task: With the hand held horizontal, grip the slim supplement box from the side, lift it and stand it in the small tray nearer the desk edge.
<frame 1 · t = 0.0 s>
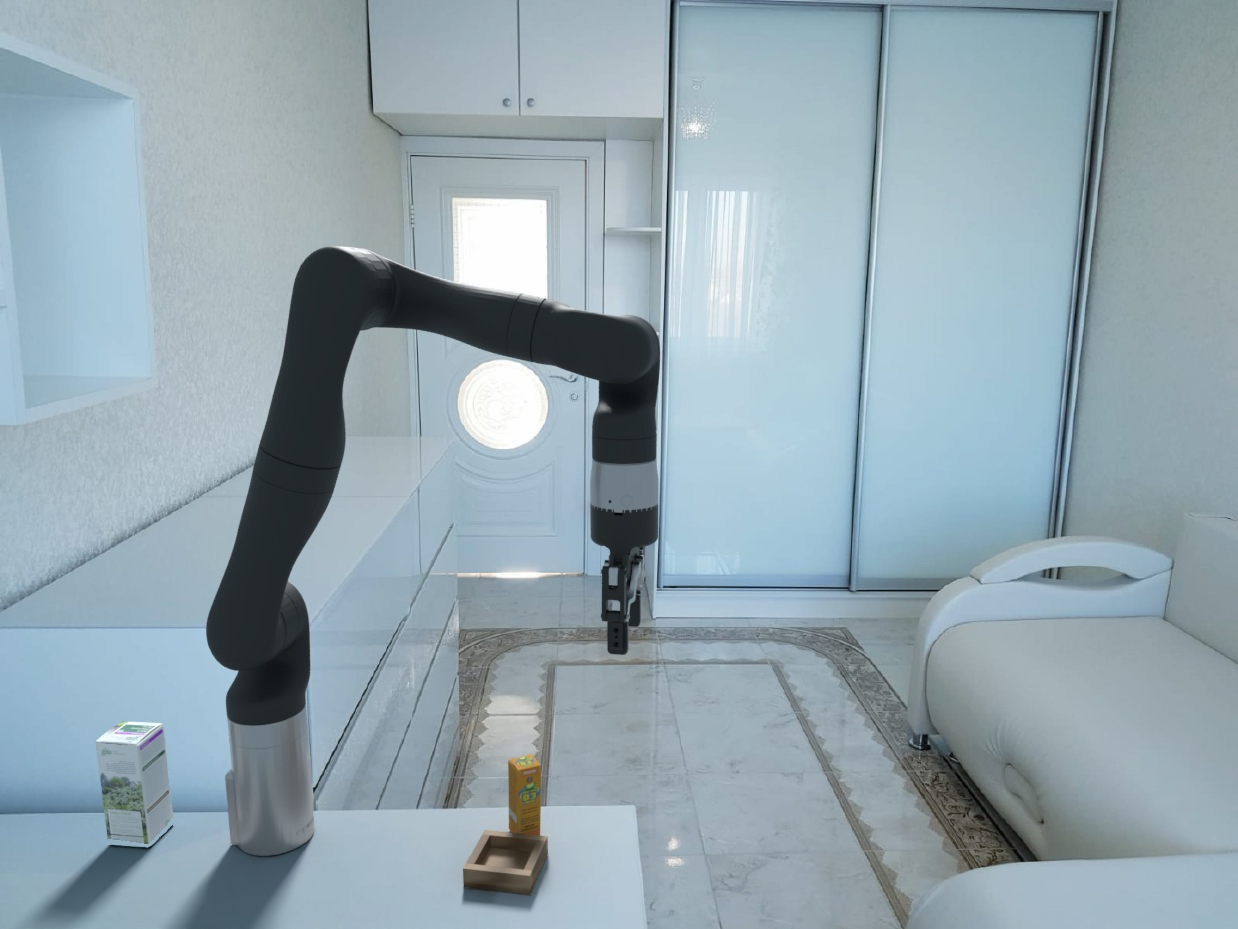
hand: (624, 639, 107), 29 cm above the table, tool pointing down, fingers open, 8 cm apart
syrup box: (141, 837, 120), on the table
supplement box: (525, 834, 120), on the table
tray: (506, 871, 113), on the table
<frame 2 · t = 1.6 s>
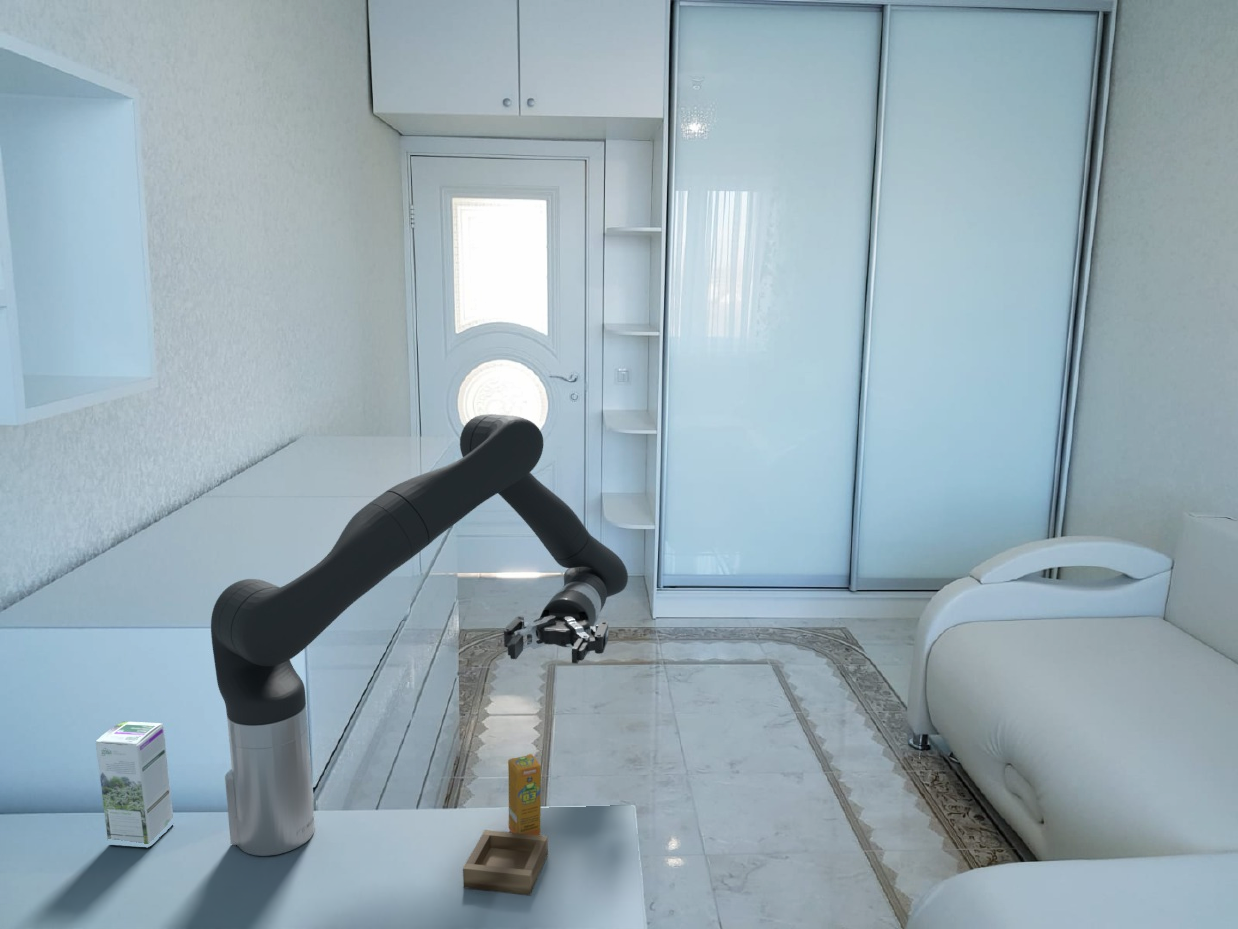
hand: (543, 654, 126), 20 cm above the table, tool horizontal, fingers open, 8 cm apart
nothing on the table moved.
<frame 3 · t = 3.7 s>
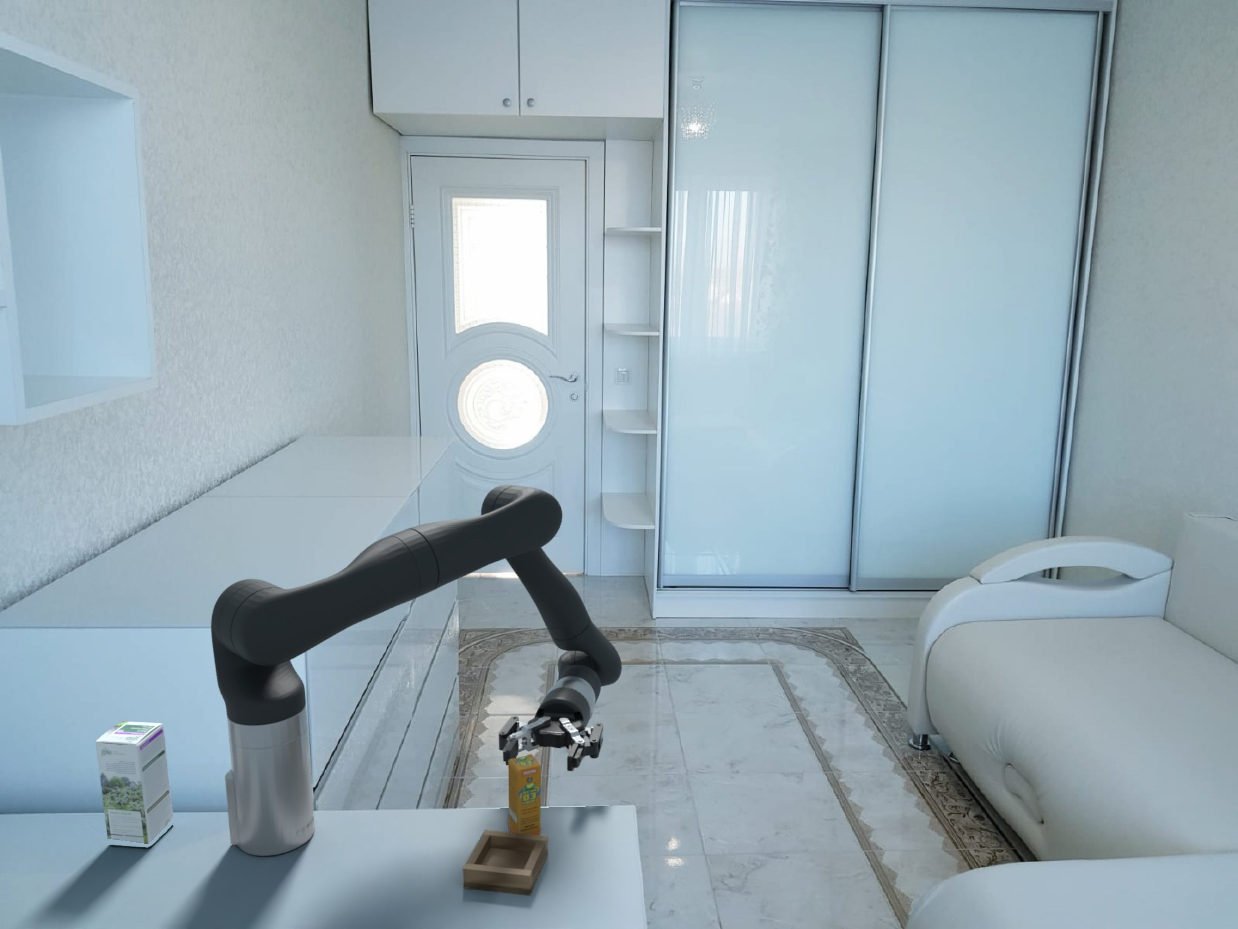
hand: (538, 762, 126), 6 cm above the table, tool horizontal, fingers open, 8 cm apart
nothing on the table moved.
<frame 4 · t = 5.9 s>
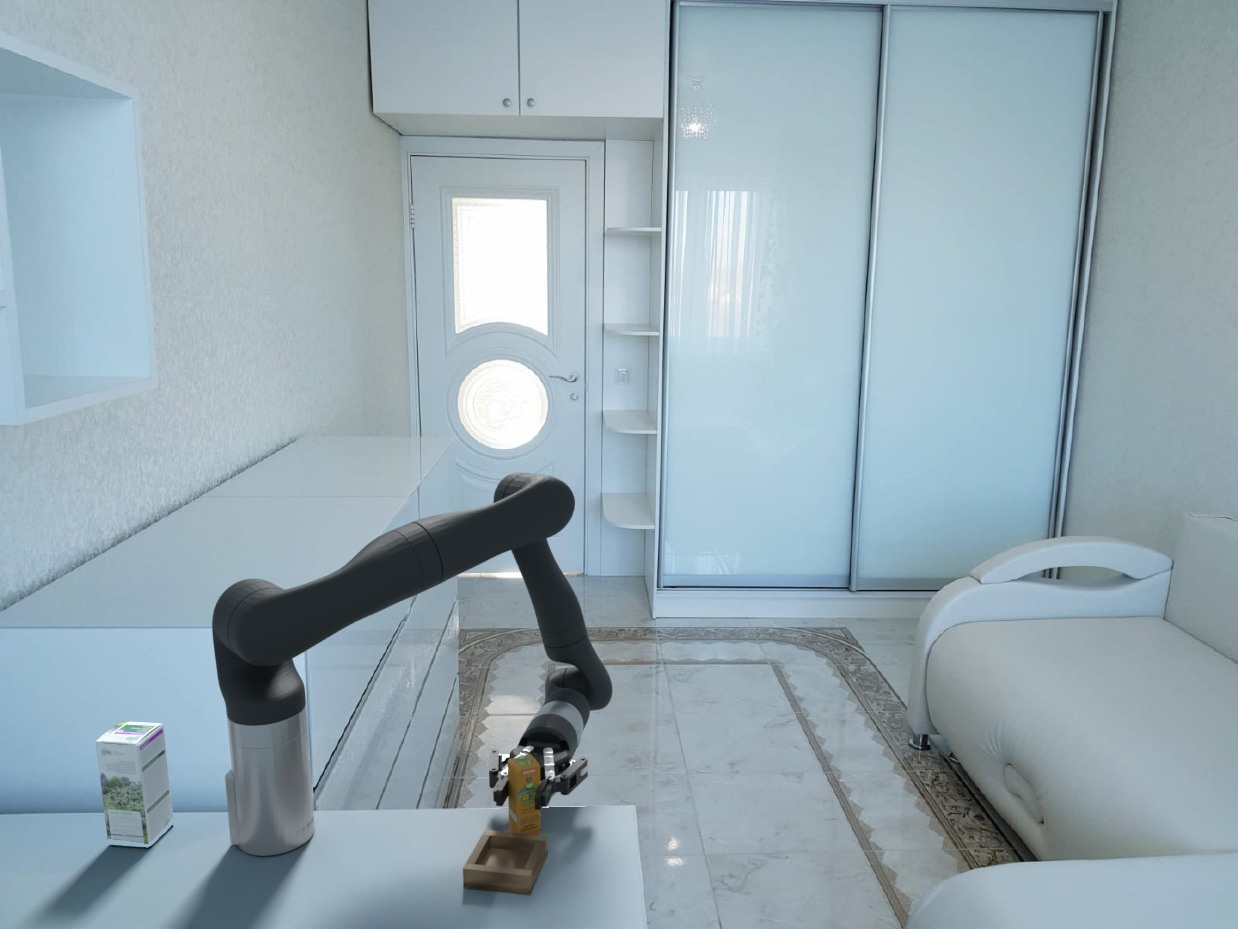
hand: (518, 801, 117), 6 cm above the table, tool horizontal, fingers closed on supplement box, 4 cm apart
supplement box: (525, 834, 120), on the table, touching gripper
everything else where it was.
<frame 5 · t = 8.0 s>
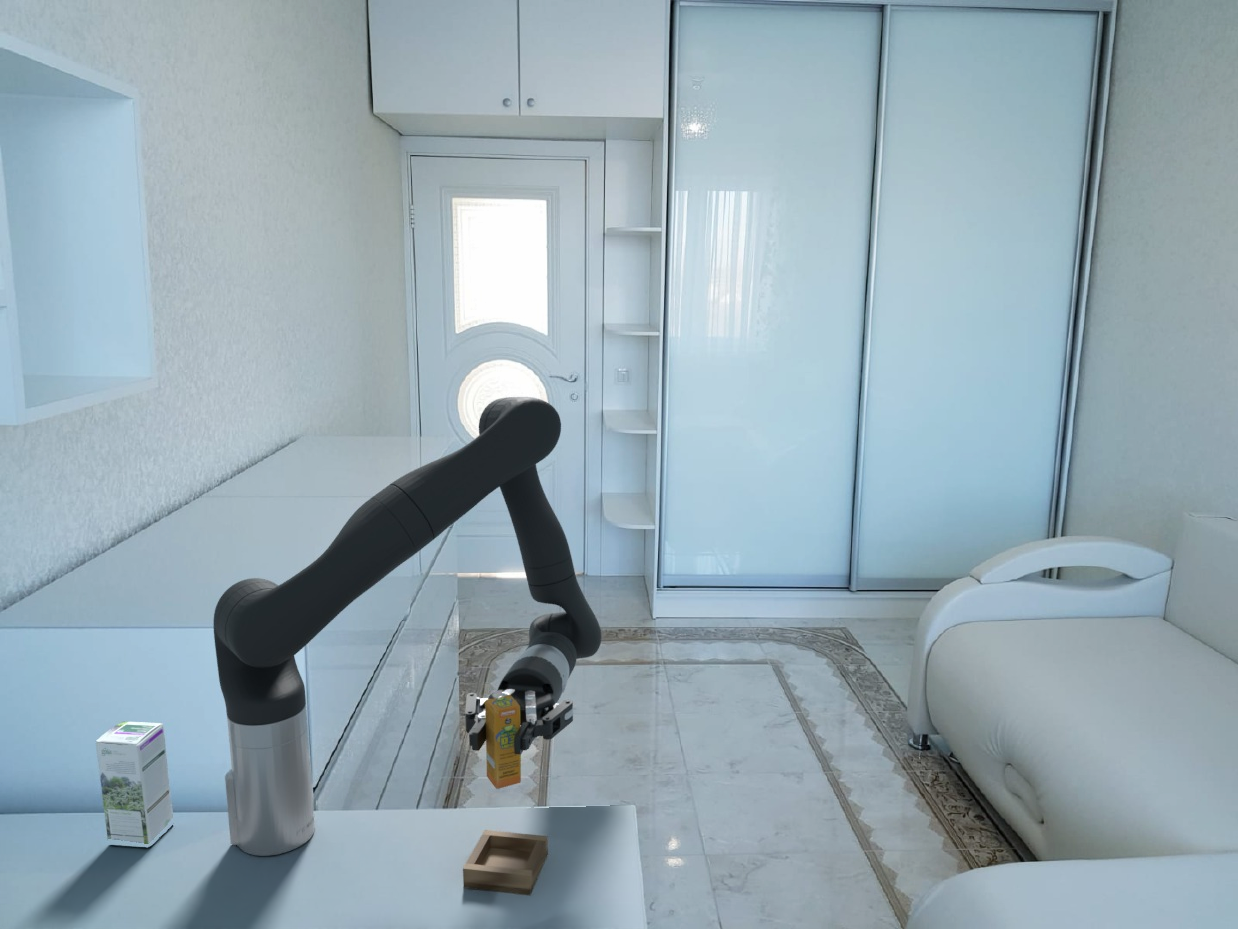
hand: (496, 744, 107), 18 cm above the table, tool horizontal, fingers closed on supplement box, 4 cm apart
supplement box: (504, 782, 111), point 11 cm above the table, touching gripper
everything else where it was.
when the fingers open (8 cm above the table, at t = 10.1 s): supplement box drops 1 cm, resting on tray.
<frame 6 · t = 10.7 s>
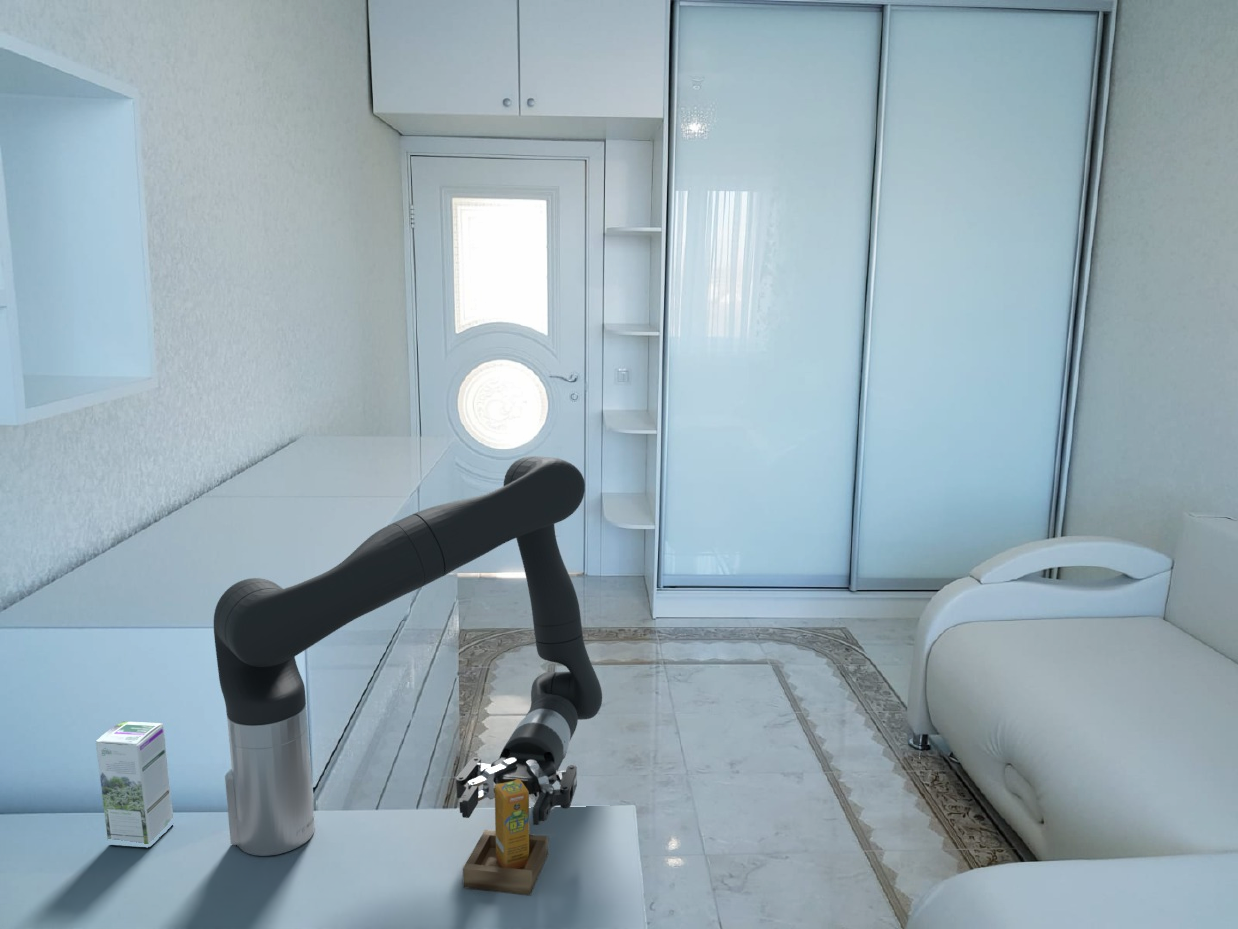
hand: (500, 814, 109), 8 cm above the table, tool horizontal, fingers open, 8 cm apart
supplement box: (513, 865, 113), point 1 cm above the table, touching tray
everything else where it was.
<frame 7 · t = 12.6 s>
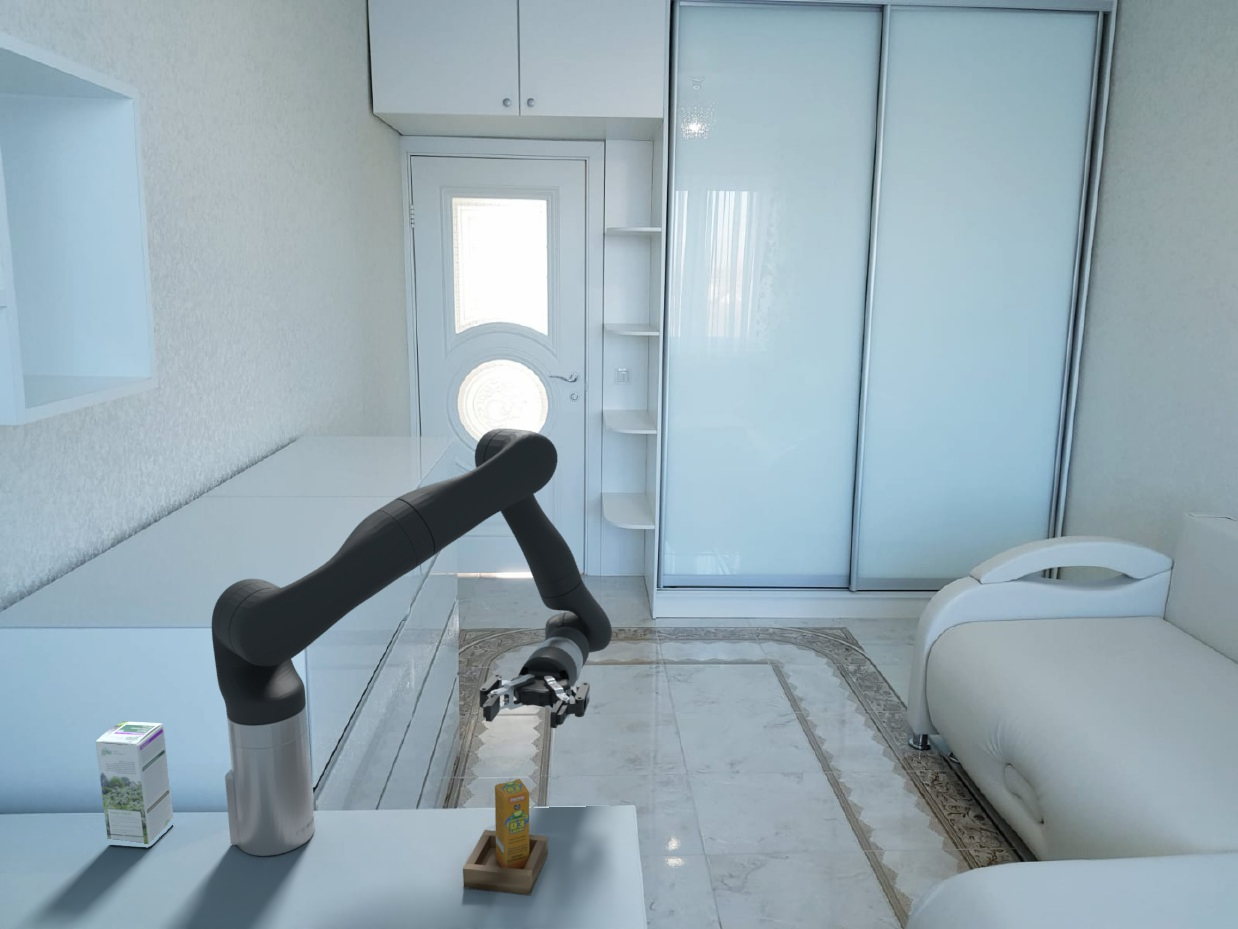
hand: (520, 718, 120), 15 cm above the table, tool horizontal, fingers open, 8 cm apart
nothing on the table moved.
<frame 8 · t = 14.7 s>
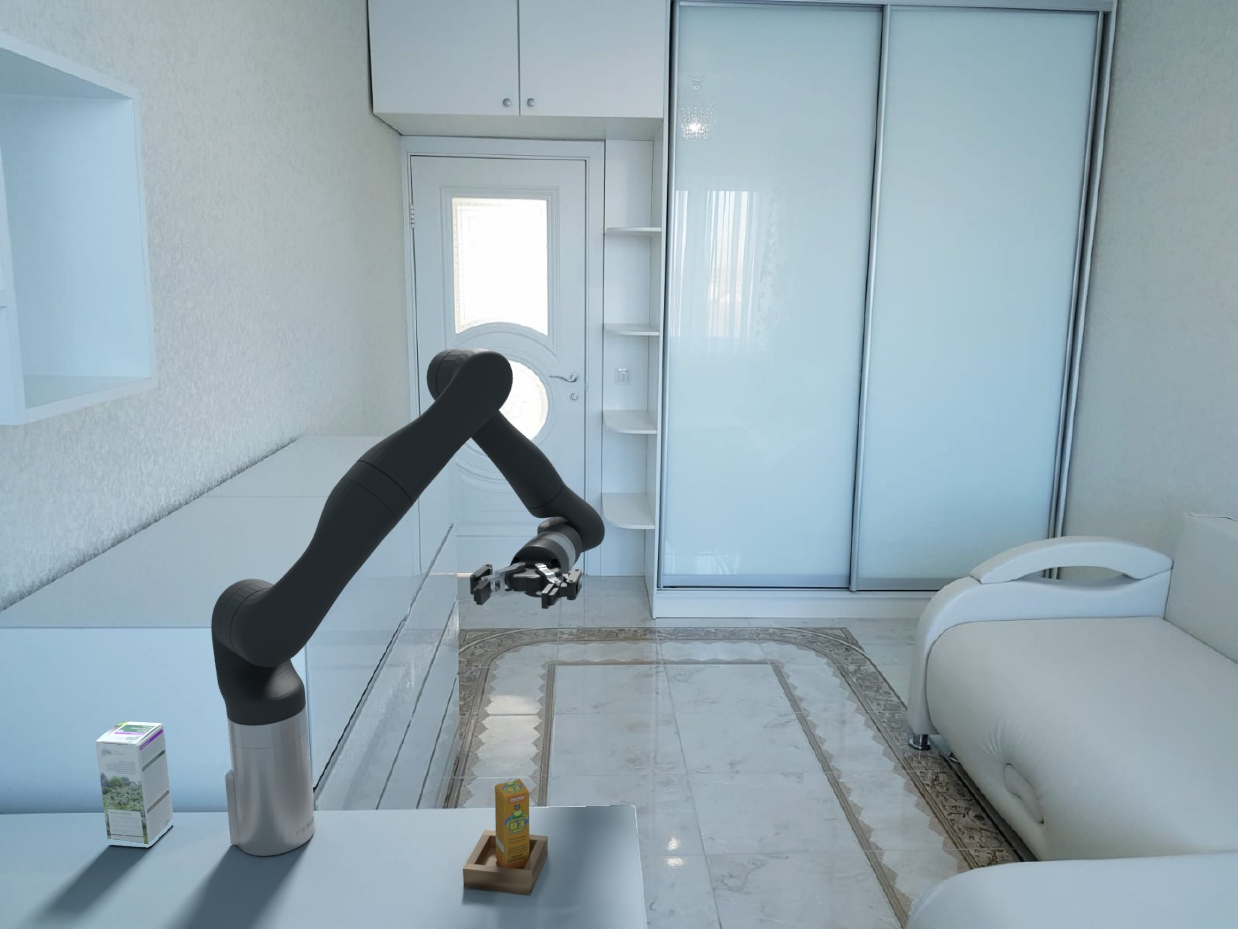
hand: (511, 599, 118), 30 cm above the table, tool horizontal, fingers open, 8 cm apart
nothing on the table moved.
at the end: supplement box 0.8 cm off-centre on the tray, point 0.6 cm above the tray's base; the gripper is holding nothing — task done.
